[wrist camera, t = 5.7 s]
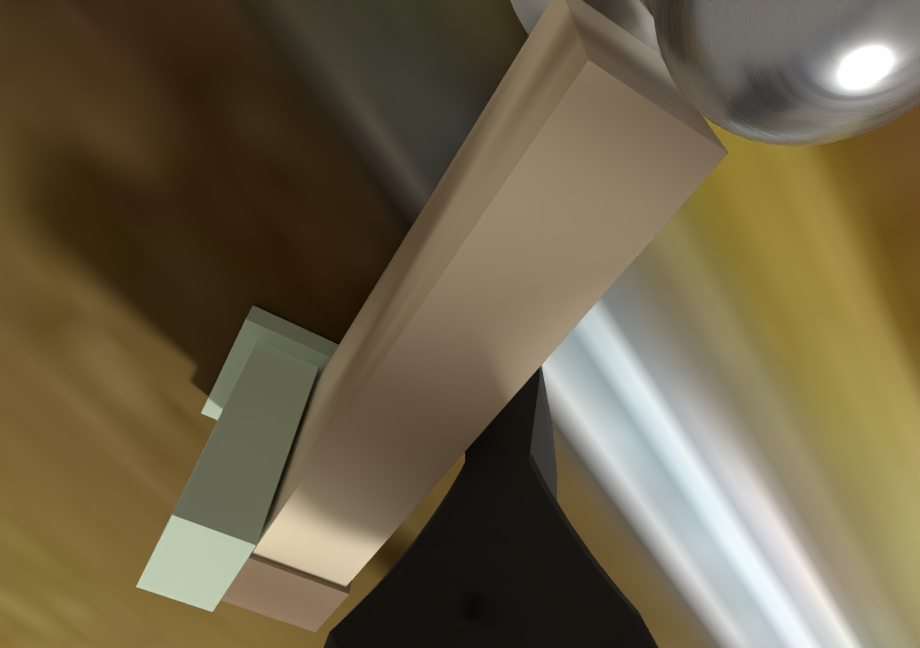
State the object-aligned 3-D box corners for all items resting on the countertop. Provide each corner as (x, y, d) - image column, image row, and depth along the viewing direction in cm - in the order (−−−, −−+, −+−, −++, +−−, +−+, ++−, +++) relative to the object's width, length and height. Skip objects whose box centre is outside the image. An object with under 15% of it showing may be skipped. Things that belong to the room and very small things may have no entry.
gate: (554, -20, 10) (581, 57, 6) (660, 54, 10) (738, 160, 7) (277, 435, 16) (216, 598, 12) (354, 467, 16) (314, 632, 13)
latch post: (253, 305, 14) (153, 491, 10) (346, 348, 15) (288, 541, 11) (208, 398, 16) (108, 589, 12) (294, 434, 16) (226, 628, 12)
